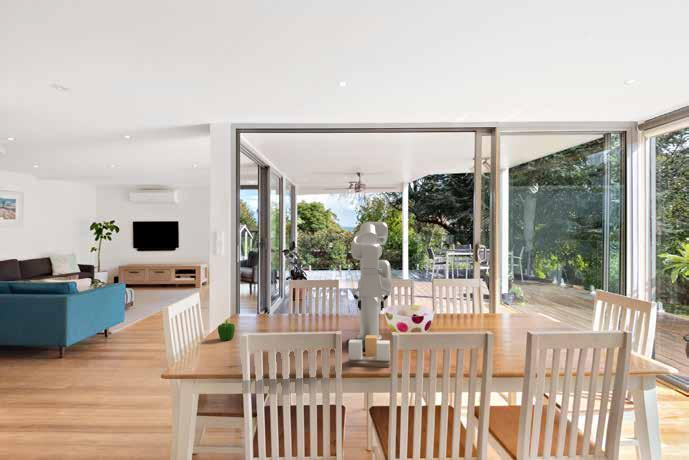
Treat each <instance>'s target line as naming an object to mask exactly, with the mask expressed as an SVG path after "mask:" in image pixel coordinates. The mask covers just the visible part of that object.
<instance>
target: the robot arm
mask: <svg viewBox="0 0 689 460" xmlns="http://www.w3.org/2000/svg"><path fill="white" fill-rule="evenodd" d="M388 227H389V226H388V225H387V223H386V222H385V221H365V222H363V223H361V225H360V228H359V230H358V231H357V232H355V234H354V237H353V239H352V241H351V245H350V246H351V247H350V248H351V249H350V250H351V251H350V252H351V253H350V254H351V256H352V258H353V259H355V260H359V267H360V270H359V271H360V275H359V276H360V278H359V279H358V280H357V288H355V289H353V290H351V294H352V296H353V298H354V299H356V301H357V308H358V309H359V328H360V330H359V334H358V335H357V336H356V339H362V338H365V337H366V335H377V340H382V338H383V336H382V335H381V334H380V332H379V331H380V327H379V317H380V316H379V303H378V300H377V299H376V298H379V299H380V311H381V312H382V311H383V309H385V301H386V299H388V298H389V296H390V295H391V294H392V291H393V280H392V269H391V268H392V267H391V264H390V262H389V261H388V260H386V259H379V258H381V256H382V253H383V248H382V246H384V245H385V244H387V241H388V235H389V228H388ZM357 292H358V295H357Z"/></svg>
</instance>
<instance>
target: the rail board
mask: <svg viewBox="0 0 689 460" xmlns="http://www.w3.org/2000/svg"><path fill="white" fill-rule="evenodd" d="M390 347H391V345H390V340H382V339H380V340H377V356H366V355H363V352H362V340H350V341H349V348H348V362H347V366H348V367H369V368H370V367H373V368H376V367H377V368H390V365H391V349H390Z"/></svg>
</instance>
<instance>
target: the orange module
mask: <svg viewBox="0 0 689 460" xmlns="http://www.w3.org/2000/svg"><path fill="white" fill-rule="evenodd" d="M364 356H377V335H366V337H365V355H364Z"/></svg>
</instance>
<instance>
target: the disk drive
mask: <svg viewBox="0 0 689 460" xmlns="http://www.w3.org/2000/svg"><path fill="white" fill-rule="evenodd" d="M350 340H362V353H363V352H365V338H362V339H357V338H351V339H349V338H347V339H346V340H345V341H346V346H347V348H348V349H349V341H350Z"/></svg>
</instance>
